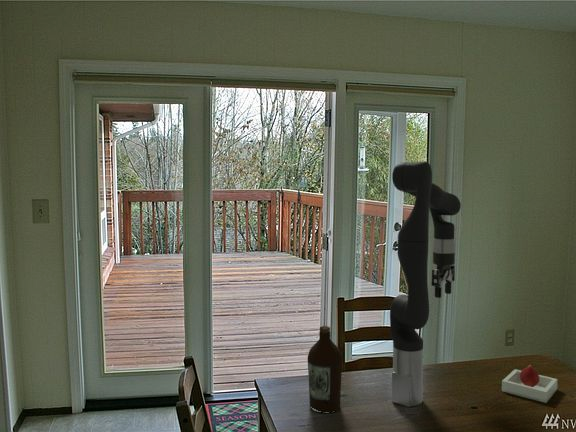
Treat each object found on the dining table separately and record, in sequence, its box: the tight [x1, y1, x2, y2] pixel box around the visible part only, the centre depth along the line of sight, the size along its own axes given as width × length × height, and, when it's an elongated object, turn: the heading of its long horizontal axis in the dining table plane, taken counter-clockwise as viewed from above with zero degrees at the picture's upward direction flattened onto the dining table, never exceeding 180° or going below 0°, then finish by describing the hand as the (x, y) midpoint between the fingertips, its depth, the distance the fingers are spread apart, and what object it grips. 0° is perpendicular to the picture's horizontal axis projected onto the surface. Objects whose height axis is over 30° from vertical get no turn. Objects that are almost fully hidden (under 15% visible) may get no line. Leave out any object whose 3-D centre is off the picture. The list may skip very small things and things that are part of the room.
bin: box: [501, 368, 558, 404], centre depth 163 cm, size 13×13×4 cm
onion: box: [520, 364, 540, 387], centre depth 163 cm, size 6×6×8 cm
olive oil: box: [307, 325, 343, 413], centre depth 151 cm, size 11×11×25 cm
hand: (443, 295), depth 178 cm, fingers open, 8 cm apart
